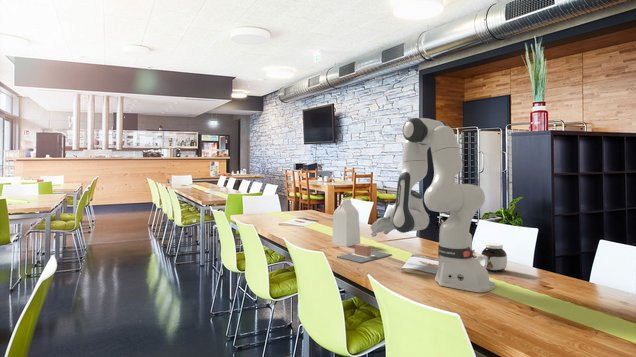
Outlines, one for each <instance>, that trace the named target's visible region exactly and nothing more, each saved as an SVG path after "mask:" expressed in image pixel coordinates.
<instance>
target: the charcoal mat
mask: <svg viewBox="0 0 636 357" xmlns="http://www.w3.org/2000/svg"><path fill="white" fill-rule="evenodd" d="M392 255H393V254H392V253H388V252H383V251H378V250H374V249H371V256H367V257H366V256H361V255H357V254H355V251H354V252H351V253H345V254H342V255H341V254H340V255H337V256H336V258H337V259H341V260H346V261H350V262H354V263H357V264H364V263H367V262H368V263H369V262H371V261H375V260H379V259H382V258H387V257H390V256H392Z"/></svg>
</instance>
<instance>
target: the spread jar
mask: <svg viewBox="0 0 636 357" xmlns="http://www.w3.org/2000/svg"><path fill="white" fill-rule="evenodd" d="M474 259H476V260H477V261H478V262H479V263H480V264H481V265H482V266H483V267H485V268H486V269H487V271H488V273H502V272H504V271H505V270H506V268H507V267H508V255H507V252H506V251H505V250H504V247H503V244H502V243H498V242H486V243H485V248H484V249H483V250H482V251H481V255H480V254H478V255H477V256H476V257H474Z"/></svg>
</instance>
